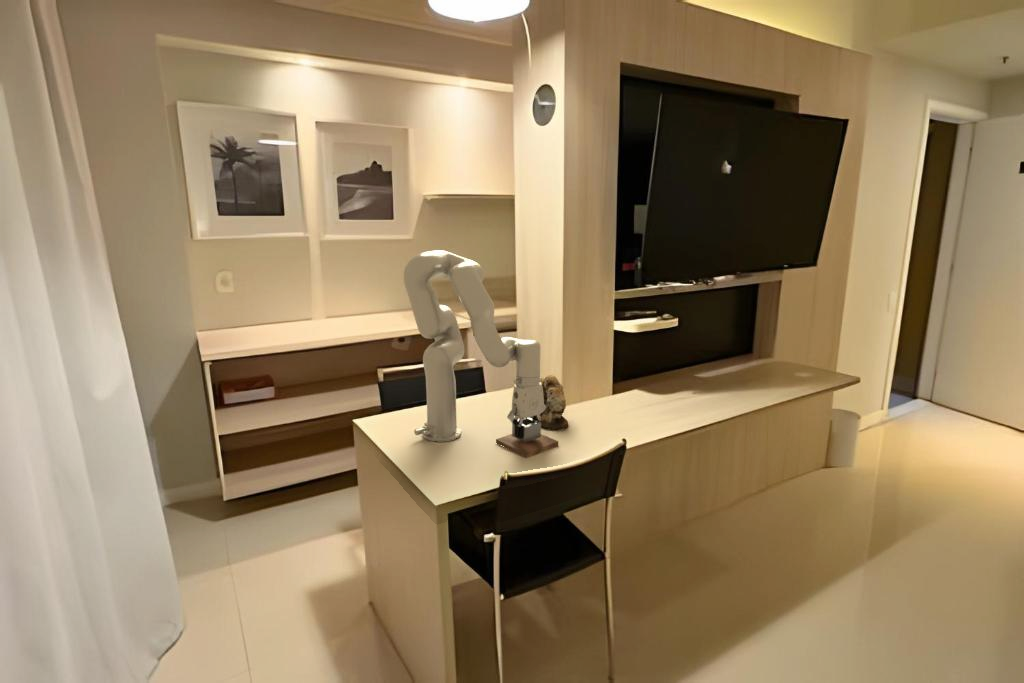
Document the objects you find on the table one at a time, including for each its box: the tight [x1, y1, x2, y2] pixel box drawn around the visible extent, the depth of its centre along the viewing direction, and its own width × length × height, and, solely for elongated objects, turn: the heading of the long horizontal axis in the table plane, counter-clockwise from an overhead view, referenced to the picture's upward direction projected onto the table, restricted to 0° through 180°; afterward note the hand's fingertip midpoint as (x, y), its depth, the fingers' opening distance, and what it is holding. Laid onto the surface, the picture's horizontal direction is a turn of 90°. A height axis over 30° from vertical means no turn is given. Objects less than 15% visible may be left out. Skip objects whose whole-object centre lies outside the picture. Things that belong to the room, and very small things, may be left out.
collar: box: [511, 418, 542, 442], centre depth 175 cm, size 6×6×5 cm
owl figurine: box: [529, 374, 569, 432], centre depth 194 cm, size 18×12×17 cm, turn 34°
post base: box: [495, 433, 559, 459], centre depth 175 cm, size 14×14×6 cm
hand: (526, 434), depth 175 cm, fingers closed on collar, 6 cm apart
